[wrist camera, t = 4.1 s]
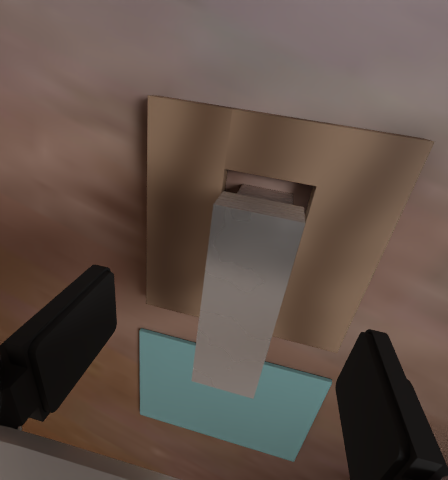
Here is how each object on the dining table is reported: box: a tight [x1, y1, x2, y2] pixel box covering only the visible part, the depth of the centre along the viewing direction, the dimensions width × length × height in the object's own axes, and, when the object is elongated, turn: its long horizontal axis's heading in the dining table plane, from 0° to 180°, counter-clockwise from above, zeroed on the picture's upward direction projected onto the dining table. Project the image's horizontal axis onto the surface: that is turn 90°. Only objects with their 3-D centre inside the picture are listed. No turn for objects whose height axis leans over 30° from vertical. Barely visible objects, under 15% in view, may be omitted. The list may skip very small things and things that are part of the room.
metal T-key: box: [191, 184, 305, 399], centre depth 15 cm, size 3×9×8 cm, turn 172°
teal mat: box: [140, 328, 332, 462], centre depth 26 cm, size 16×12×1 cm
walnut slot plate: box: [146, 95, 434, 353], centre depth 18 cm, size 14×14×1 cm
